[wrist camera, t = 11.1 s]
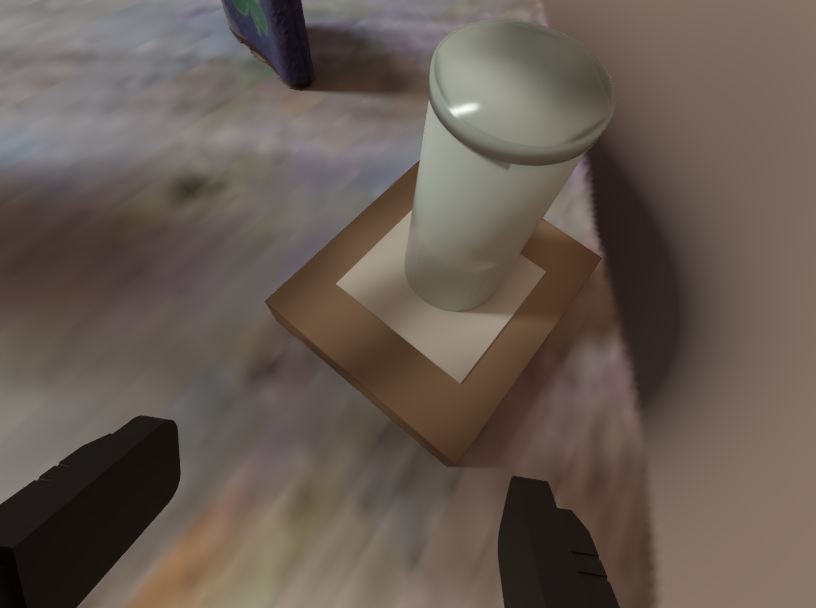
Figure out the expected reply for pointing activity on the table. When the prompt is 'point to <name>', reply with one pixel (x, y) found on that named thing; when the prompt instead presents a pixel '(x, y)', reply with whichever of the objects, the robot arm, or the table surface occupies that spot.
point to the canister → (497, 151)
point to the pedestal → (426, 322)
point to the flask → (274, 37)
